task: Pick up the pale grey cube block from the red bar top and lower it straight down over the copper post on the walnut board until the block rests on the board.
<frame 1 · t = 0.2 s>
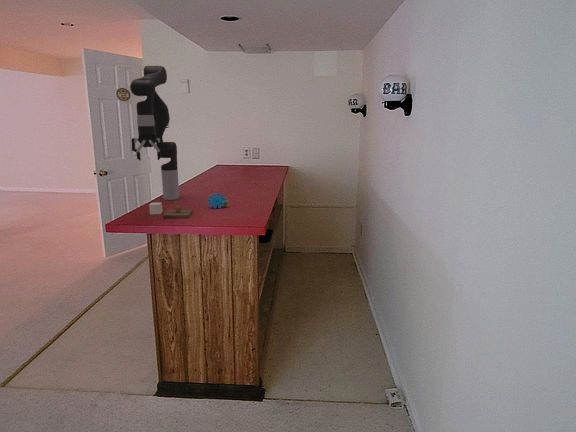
hand: (149, 160, 194), 28 cm above the table, fingers open, 8 cm apart
blue piece: (218, 208, 220), on the table
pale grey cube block: (156, 213, 207), on the table
board: (178, 215, 203), on the table
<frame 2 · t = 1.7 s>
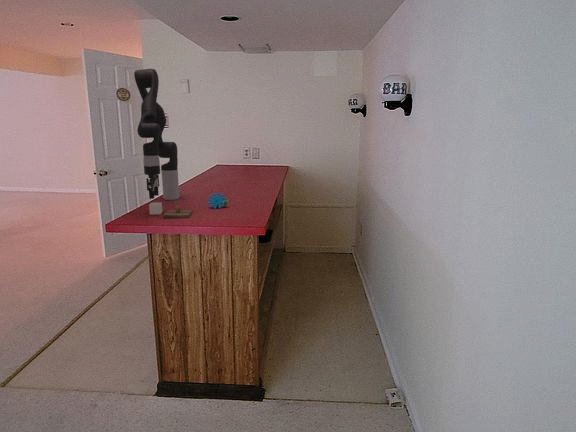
hand: (154, 197, 204), 8 cm above the table, fingers open, 8 cm apart
nothing on the table moved.
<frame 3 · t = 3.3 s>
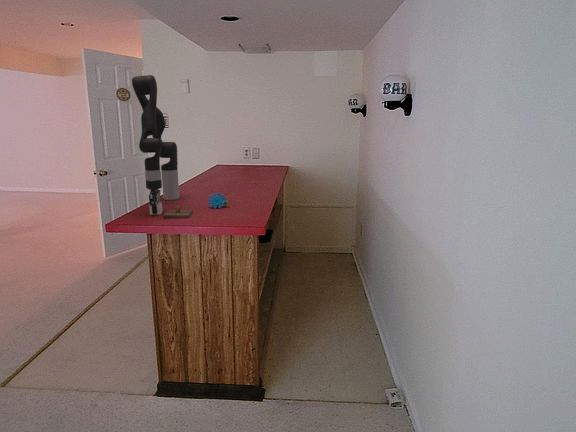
hand: (156, 212, 207), 1 cm above the table, fingers closed on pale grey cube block, 5 cm apart
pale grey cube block: (156, 213, 207), on the table, touching gripper
everything else where it was.
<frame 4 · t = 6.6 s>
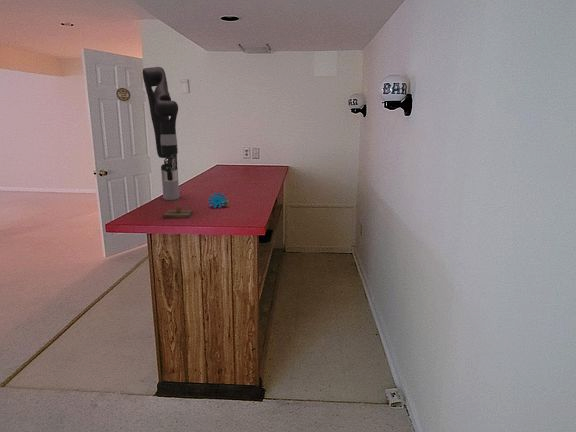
hand: (171, 179, 198), 18 cm above the table, fingers closed on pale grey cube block, 5 cm apart
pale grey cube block: (171, 180, 199), point 17 cm above the table, touching gripper
everything else where it was.
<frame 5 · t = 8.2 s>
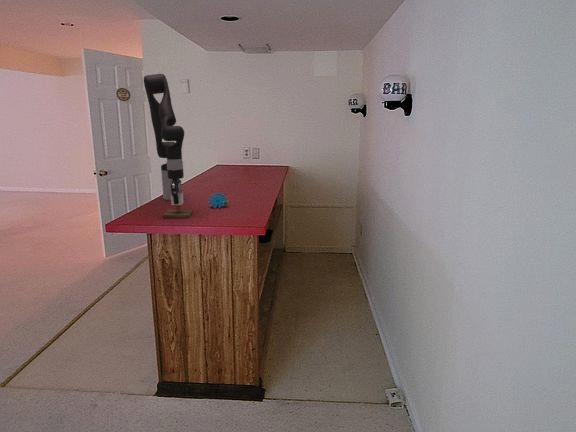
hand: (177, 202, 201), 6 cm above the table, fingers closed on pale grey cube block, 5 cm apart
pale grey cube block: (177, 203, 201), point 6 cm above the table, touching gripper
everything else where it was.
when the fingers open (3 cm above the table, at t = 9.7 s): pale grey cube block stays where it is, resting on board.
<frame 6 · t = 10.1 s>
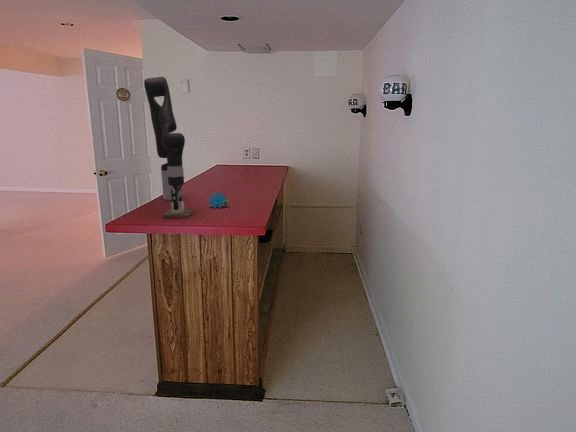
hand: (177, 207, 202), 4 cm above the table, fingers open, 8 cm apart
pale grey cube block: (178, 212, 202), point 1 cm above the table, touching board
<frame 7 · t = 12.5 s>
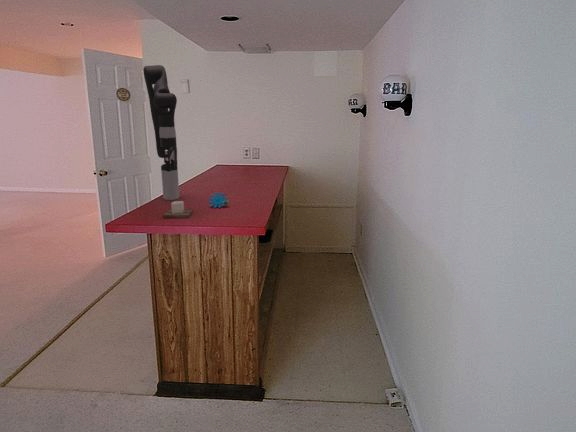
hand: (170, 170, 200), 22 cm above the table, fingers open, 8 cm apart
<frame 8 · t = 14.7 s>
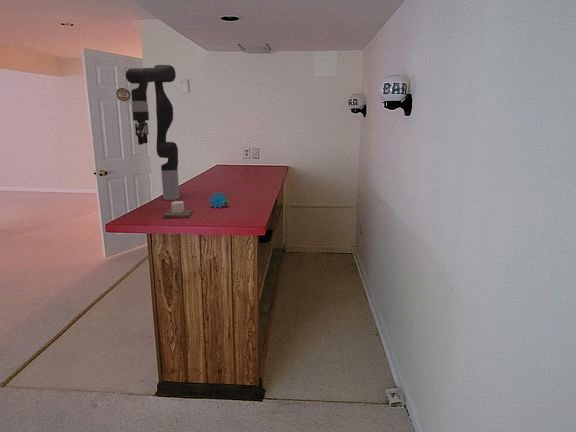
hand: (143, 143, 207), 34 cm above the table, fingers open, 8 cm apart
at the end: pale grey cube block 0.1 cm off-centre on the board, point 1.5 cm above the board's base; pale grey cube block tilted 0°; the gripper is holding nothing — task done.
